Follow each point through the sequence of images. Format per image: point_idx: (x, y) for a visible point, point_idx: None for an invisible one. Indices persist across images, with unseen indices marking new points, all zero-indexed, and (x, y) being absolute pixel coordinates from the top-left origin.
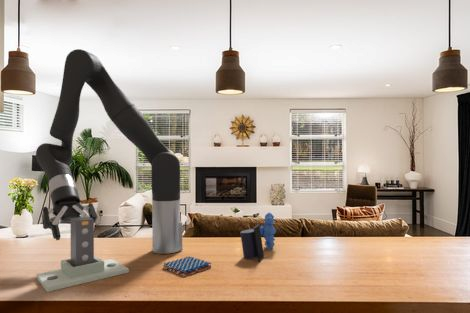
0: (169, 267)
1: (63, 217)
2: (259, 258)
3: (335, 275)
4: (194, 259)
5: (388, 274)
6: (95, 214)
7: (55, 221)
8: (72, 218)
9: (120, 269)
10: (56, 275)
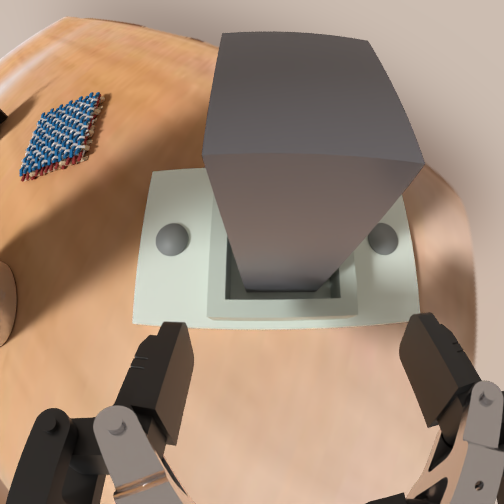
0: (86, 133)
1: (418, 500)
2: (2, 115)
3: (34, 58)
4: (33, 146)
5: (23, 53)
6: (34, 448)
7: (487, 416)
8: (404, 149)
9: (173, 178)
10: (369, 259)
